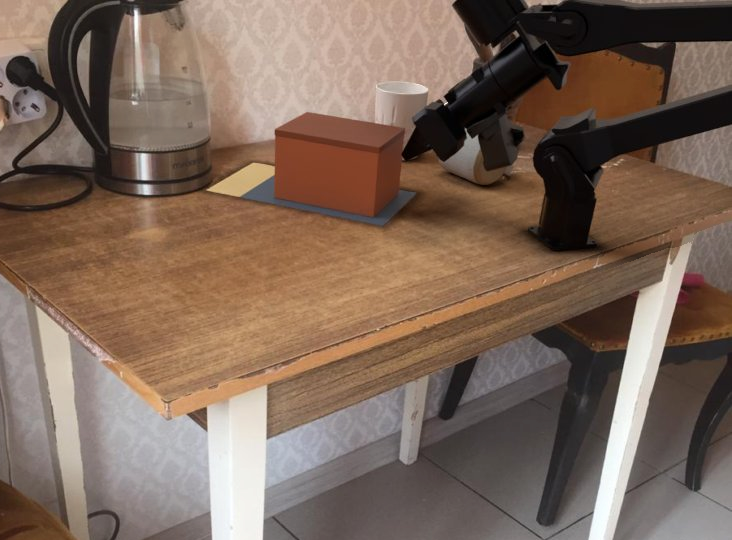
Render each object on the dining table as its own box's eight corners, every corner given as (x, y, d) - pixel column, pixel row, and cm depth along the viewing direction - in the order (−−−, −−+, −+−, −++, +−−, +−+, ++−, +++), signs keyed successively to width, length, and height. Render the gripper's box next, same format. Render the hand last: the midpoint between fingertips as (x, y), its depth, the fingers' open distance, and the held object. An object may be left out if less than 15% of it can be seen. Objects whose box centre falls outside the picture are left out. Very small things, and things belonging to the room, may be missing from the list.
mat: (416, 194, 119) (417, 192, 119) (383, 227, 108) (383, 225, 108) (253, 163, 126) (253, 162, 126) (205, 191, 115) (205, 190, 115)
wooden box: (399, 194, 118) (405, 127, 113) (373, 217, 110) (379, 147, 105) (304, 176, 122) (306, 111, 117) (273, 197, 114) (274, 129, 109)
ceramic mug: (473, 191, 121) (482, 135, 117) (433, 174, 126) (440, 120, 122) (524, 181, 126) (534, 128, 122) (484, 165, 132) (493, 113, 128)
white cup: (431, 156, 134) (439, 89, 128) (399, 165, 129) (406, 96, 123) (393, 143, 138) (398, 78, 133) (360, 152, 133) (364, 85, 128)
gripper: (527, 157, 95) (419, 232, 104) (556, 119, 110) (460, 187, 119) (467, 72, 93) (363, 156, 102) (505, 45, 108) (412, 120, 117)
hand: (404, 157), depth 110 cm, fingers closed
